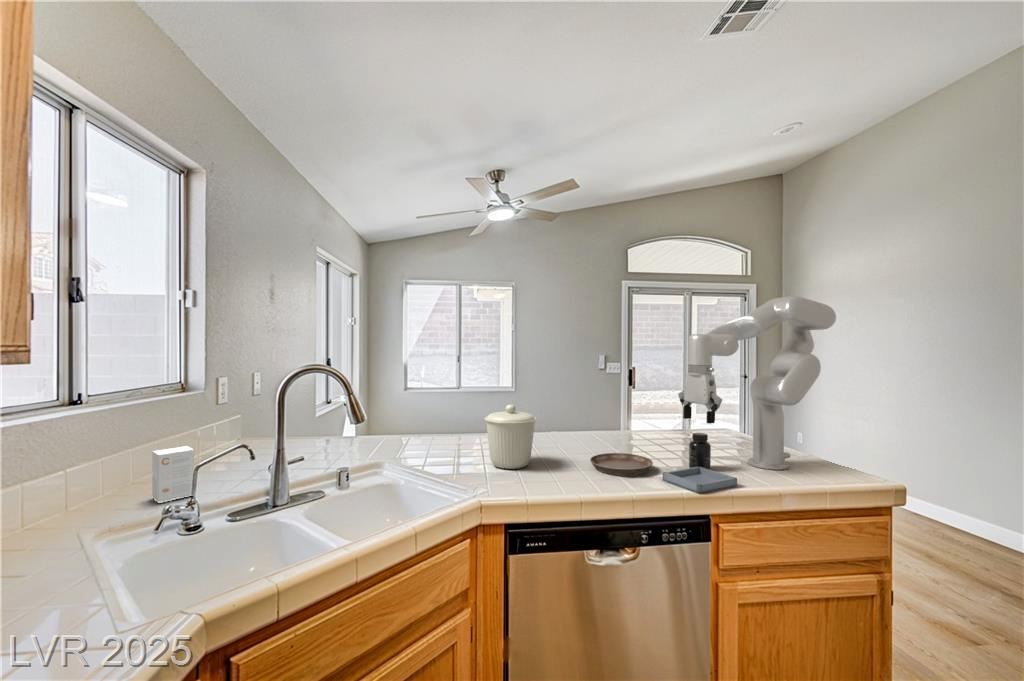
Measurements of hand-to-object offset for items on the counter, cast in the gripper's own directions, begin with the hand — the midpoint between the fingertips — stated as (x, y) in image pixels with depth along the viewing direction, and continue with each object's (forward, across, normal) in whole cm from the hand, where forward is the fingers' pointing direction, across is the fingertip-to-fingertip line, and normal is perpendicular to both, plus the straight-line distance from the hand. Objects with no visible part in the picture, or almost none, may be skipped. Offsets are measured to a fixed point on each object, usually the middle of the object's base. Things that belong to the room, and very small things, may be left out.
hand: (698, 420), depth 155 cm
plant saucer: (+18, +12, +23) cm, 31 cm away
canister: (+18, +32, +55) cm, 66 cm away
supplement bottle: (+17, 0, -1) cm, 17 cm away
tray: (+17, -11, +12) cm, 24 cm away
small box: (+20, +42, +152) cm, 159 cm away
